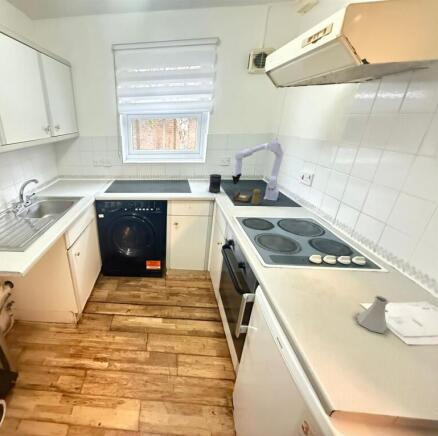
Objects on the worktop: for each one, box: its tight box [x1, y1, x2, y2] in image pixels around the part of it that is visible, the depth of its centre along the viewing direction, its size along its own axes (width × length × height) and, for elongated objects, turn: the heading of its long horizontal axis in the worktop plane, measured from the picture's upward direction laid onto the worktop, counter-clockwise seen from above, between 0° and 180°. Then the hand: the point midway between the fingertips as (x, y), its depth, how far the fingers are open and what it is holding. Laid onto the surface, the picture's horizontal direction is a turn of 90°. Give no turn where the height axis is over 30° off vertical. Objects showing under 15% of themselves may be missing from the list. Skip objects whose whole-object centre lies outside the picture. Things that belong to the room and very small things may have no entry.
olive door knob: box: [250, 188, 262, 205], centre depth 180 cm, size 6×6×11 cm
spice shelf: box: [232, 190, 252, 204], centre depth 192 cm, size 10×18×4 cm, turn 148°
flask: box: [356, 295, 390, 334], centre depth 73 cm, size 7×7×10 cm
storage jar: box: [208, 173, 222, 194], centre depth 211 cm, size 10×10×15 cm
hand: (236, 183), depth 200 cm, fingers open, 7 cm apart
